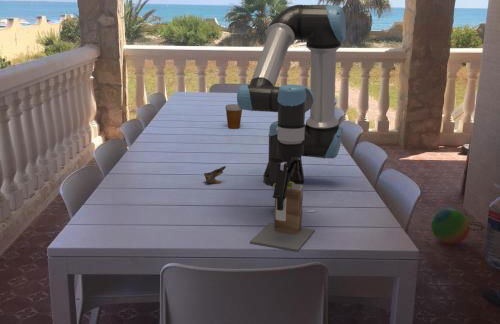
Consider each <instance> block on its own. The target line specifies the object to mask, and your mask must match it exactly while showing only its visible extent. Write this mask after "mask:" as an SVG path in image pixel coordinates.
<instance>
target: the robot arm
mask: <svg viewBox="0 0 500 324" xmlns="http://www.w3.org/2000/svg"><path fill="white" fill-rule="evenodd" d="M265 34H266V40H265V43H264V45H263V48H262V50H261V54H260V56H259V59H258V60H257V65H256V66H255V69H254V71H253V75H252V77H251V80H250V81H249V84H247V83H246V84H242V85H240V86H239V87H238V89H237V94H236V102H237V103H236V104H238V106H239V108H240V109H242V111H243V110H244V111H250V112H272V113H277V120H276V121H273V122H272V123H270V126H269V131H268V133H269V134H268V159H267V160H268V162H267V164H266V167H265V169H264V173H263V177H262V178H263V183H265V184H267V186H271V187H273V185H274V184H275V189H274V188H273V189H274V190H273V194H272V199H275V198H276V220H280V221H286V198H285V196H286V192H287V188H288V184H289V182H293V183H292V189H293V190H300V191H302V189H301V185H305V175H304V168H303V161H302V157H309V158H317V159H335V158H337V156H338V155H339V152H340V148H341V144H342V140H343V133H344V128H343V127H342V126H339V120H338V119H337V118H336V117H335V113H336V112H335V109H336V108H335V107H336V104H335V103H336V101H335V100H336V72H337V71H336V70H337V69H336V68H337V67H336V65H337V64H336V63H337V51H338V50H339V49H340V48H341V46H342V43H344V42H345V40H346V37H347V23H346V16H345V12H344V9H343V7H341V6H340V5H332V4H295V5H290V6H289V7H287V8H285V9H283V10H282V11H280V12H279V13H278V14H276V16H275V17H273V18H272V20H271V21H270V22H269V24H268V27H267V30H266V33H265ZM295 41H305V42H306V44H305V45H306V48H307V49H308V50H309V51H310V78H309V79H310V80H309V81H310V83H309V84H310V87H308V86H306V85H305V86H304V85H301V84H283V85H280V86H276V84H277V81H278V78H279V75H280V72H281V70H282V67H283V65H284V64H283V63H284V61H285V58H286V55H287V53H288V50H289V47H290V46H292V45H293V43H294V42H295ZM308 111H309V113H310V114H309V118H307V119H306V113H307V112H308ZM305 120H306V121H305Z"/></svg>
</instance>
